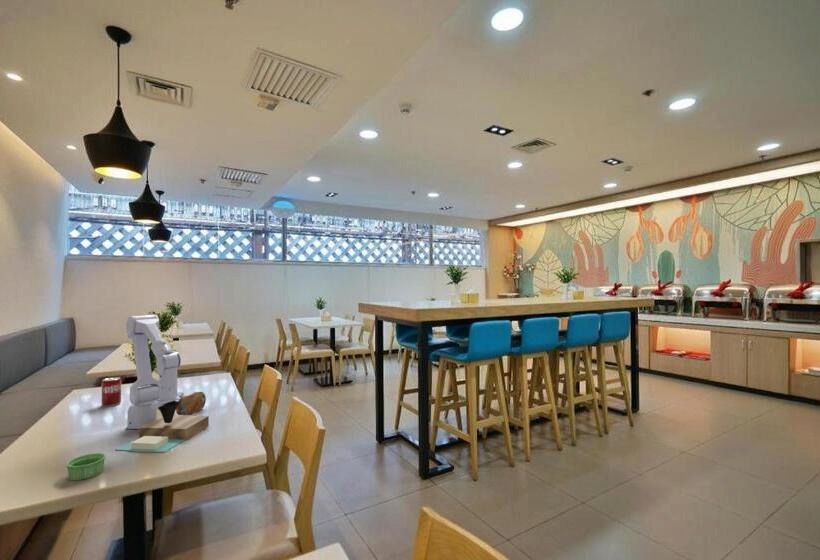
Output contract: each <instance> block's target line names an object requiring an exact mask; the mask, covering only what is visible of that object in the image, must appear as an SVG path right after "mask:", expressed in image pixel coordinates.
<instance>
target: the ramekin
mask: <svg viewBox="0 0 820 560" xmlns="http://www.w3.org/2000/svg"><path fill="white" fill-rule="evenodd" d="M106 457H107V456H106V454H105V453H101V452H95V453H89V454H84V455H80V456H76V457H74V458H72V459H70V460H68V461H67V462H66V468H67V476H68V477H67V478H68V479H69V480H71V481H81V479H83V480H87V479H90V477H91V478H93V477H95V476H98V475H100V474H102V472H103V471H104V468H105V466H104V465H105V460H106Z"/></svg>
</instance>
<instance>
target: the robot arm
mask: <svg viewBox="0 0 820 560" xmlns="http://www.w3.org/2000/svg"><path fill="white" fill-rule="evenodd" d="M125 323H126V324H125V326H126V334H127V338H129V339H131V341H132V346H133V353H134V354H133V355H134V362H135V363H134V364H135V370H136V377H137V380H136V381H134V382H133V383H132V384H131V386H130V388H129V401H130V406H129V407H128V410H127V421H126V422H127V426H126V427H125V429H127V430H128V429H129V430H130V429H132V430H139V427H141V426H143V425H145V424H147V423H149V422H152V421H154V420H156V419H158V414H157V413H158V410H159V412H160V413H161V417H162V416H163V420H164V423H171V422H172V420H173V416H174V415H175V412H176V408H177V406H178V405H179V401H178V400H179V399H180V398H183V397H184V396H185V395H184V393H185V392H184V391H183V392H181V391H179V392H178V368H179V367H180V366H181V359H182V358H181V356H180V353H179V352H178V351H175V350H173V349H172V348H171V347H172V346H171V345H170V344H169V342H168V340H166V339H163V337H162V335H161V333H160V330H159V328H160V327H159V326H160V319H159V317H158V316H157V315H156V314H149V315H147V314H146V315H130V316H128V318H127V320H126V322H125ZM148 340H149V342H151V345H150V349H151V351H152V353H153V355H154V356H155V358H156V362H155V365H156V368H157V375H159V379H156V378H154V377H153V375H152V374H153V373H152V365H151V358H150V352H149V344H148Z"/></svg>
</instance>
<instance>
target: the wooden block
mask: <svg viewBox="0 0 820 560" xmlns="http://www.w3.org/2000/svg"><path fill="white" fill-rule="evenodd" d="M209 420H210V419H209V415H194V414H191V415H178V414H174V416H173V420H172V422H171V423H164V420H163V416H162V415H161V416H160V417H157V419H156V420H154V421H152V422H149V423H147V424H145V425H143V426H141V427H139V429H138V438H141V437H143V436H162V437H168V439H181V440H185V441H186V440H189V439H190V438H191V437H194V436H195V435H196V434H198V433H199V432H201V431H203V430H205V429H206V428H207V427H209V422H210V421H209Z"/></svg>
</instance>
